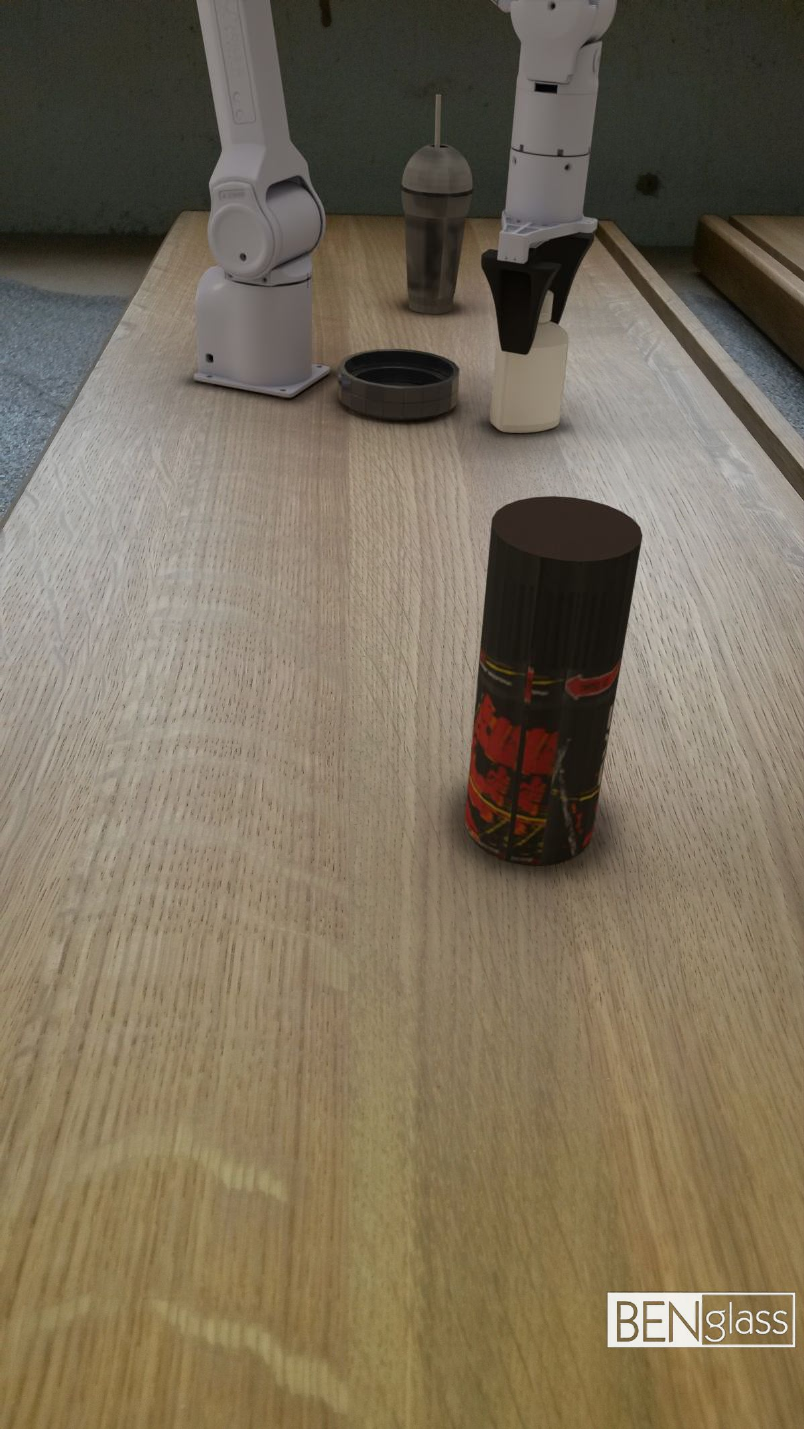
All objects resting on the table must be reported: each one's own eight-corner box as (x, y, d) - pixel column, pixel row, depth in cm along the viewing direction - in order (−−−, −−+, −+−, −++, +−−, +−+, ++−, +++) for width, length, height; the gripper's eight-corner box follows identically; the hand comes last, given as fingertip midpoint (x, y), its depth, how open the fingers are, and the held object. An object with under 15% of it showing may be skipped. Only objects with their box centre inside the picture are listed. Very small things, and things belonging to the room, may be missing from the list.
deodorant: (457, 785, 59) (481, 495, 50) (578, 783, 59) (622, 496, 51) (473, 867, 54) (503, 561, 45) (605, 863, 54) (659, 561, 46)
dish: (318, 410, 100) (318, 374, 98) (367, 375, 108) (368, 342, 106) (431, 432, 97) (433, 395, 95) (473, 394, 105) (476, 360, 103)
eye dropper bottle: (557, 438, 97) (575, 284, 90) (487, 431, 98) (500, 278, 91) (559, 419, 101) (577, 269, 94) (492, 413, 101) (505, 263, 94)
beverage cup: (473, 303, 128) (489, 92, 117) (453, 321, 123) (468, 101, 111) (408, 294, 130) (418, 85, 119) (385, 311, 124) (393, 94, 113)
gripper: (576, 172, 81) (552, 373, 88) (628, 142, 92) (603, 323, 100) (476, 159, 83) (461, 357, 90) (539, 131, 94) (521, 309, 102)
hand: (530, 338), depth 95 cm, fingers open, 7 cm apart
